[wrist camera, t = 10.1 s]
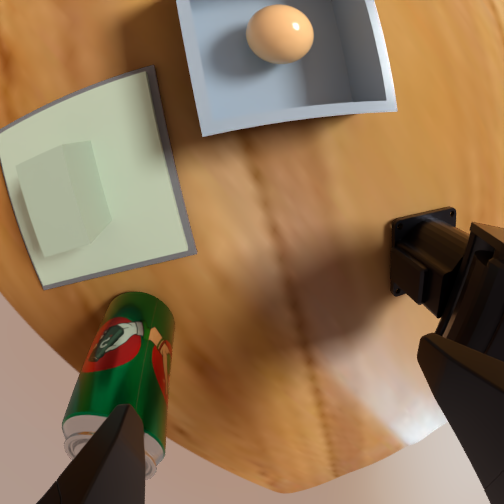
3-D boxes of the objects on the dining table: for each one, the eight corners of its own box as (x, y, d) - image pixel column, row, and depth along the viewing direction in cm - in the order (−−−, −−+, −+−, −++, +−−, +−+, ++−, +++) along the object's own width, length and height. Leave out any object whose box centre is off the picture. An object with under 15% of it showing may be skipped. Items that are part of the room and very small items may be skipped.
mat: (154, 66, 15) (153, 64, 15) (197, 251, 20) (197, 254, 19) (-3, 132, 14) (-6, 132, 14) (46, 287, 19) (44, 290, 19)
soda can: (97, 322, 21) (47, 455, 10) (128, 273, 20) (71, 415, 9) (153, 355, 22) (137, 493, 11) (188, 312, 21) (185, 463, 10)
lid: (147, 72, 15) (128, 55, 11) (188, 247, 19) (183, 281, 15) (0, 135, 14) (-41, 141, 10) (46, 281, 18) (18, 316, 14)
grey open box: (329, -20, 14) (357, -48, 10) (359, 112, 18) (397, 111, 14) (175, -9, 13) (168, -42, 9) (203, 135, 17) (202, 137, 13)
